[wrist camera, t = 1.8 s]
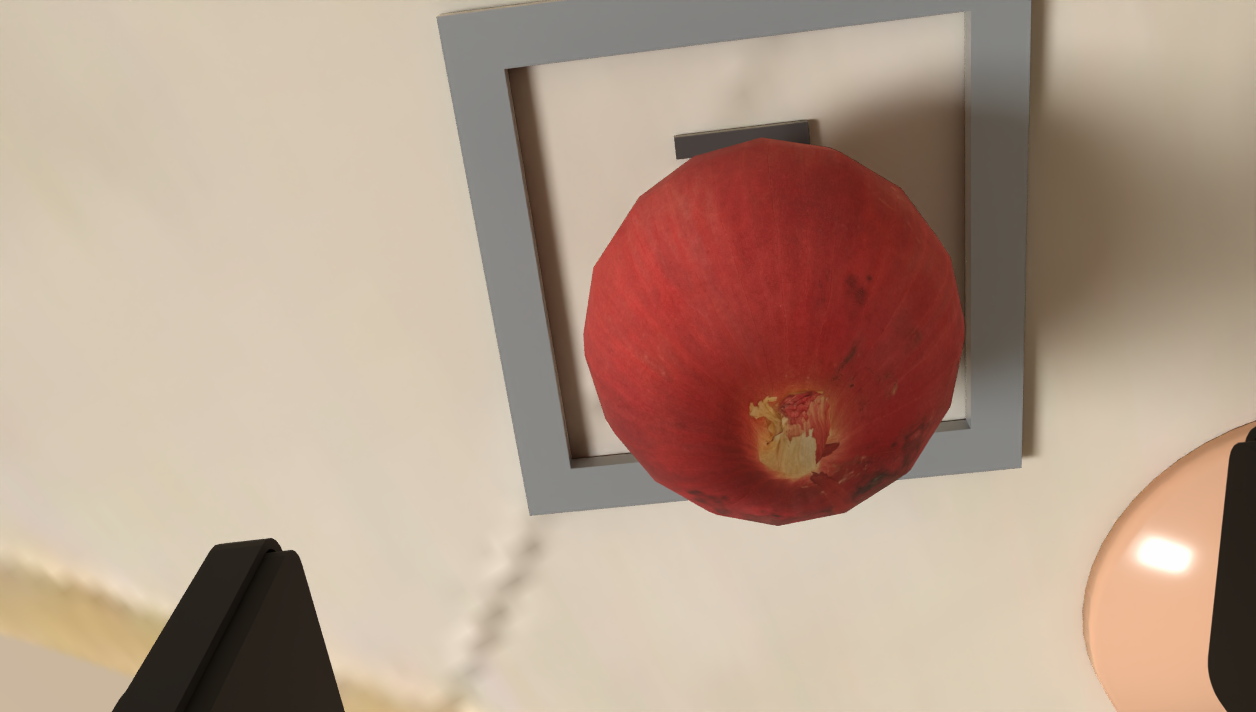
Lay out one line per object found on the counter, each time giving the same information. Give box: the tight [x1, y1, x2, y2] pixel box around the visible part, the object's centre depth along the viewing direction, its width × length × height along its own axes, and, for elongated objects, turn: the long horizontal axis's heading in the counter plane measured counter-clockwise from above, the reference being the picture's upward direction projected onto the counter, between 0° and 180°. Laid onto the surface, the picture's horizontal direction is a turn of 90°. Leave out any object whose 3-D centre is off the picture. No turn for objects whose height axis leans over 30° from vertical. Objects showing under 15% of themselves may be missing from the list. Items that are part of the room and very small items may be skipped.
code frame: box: [437, 0, 1031, 516], centre depth 21 cm, size 10×10×1 cm
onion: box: [583, 138, 965, 526], centre depth 17 cm, size 6×6×8 cm
